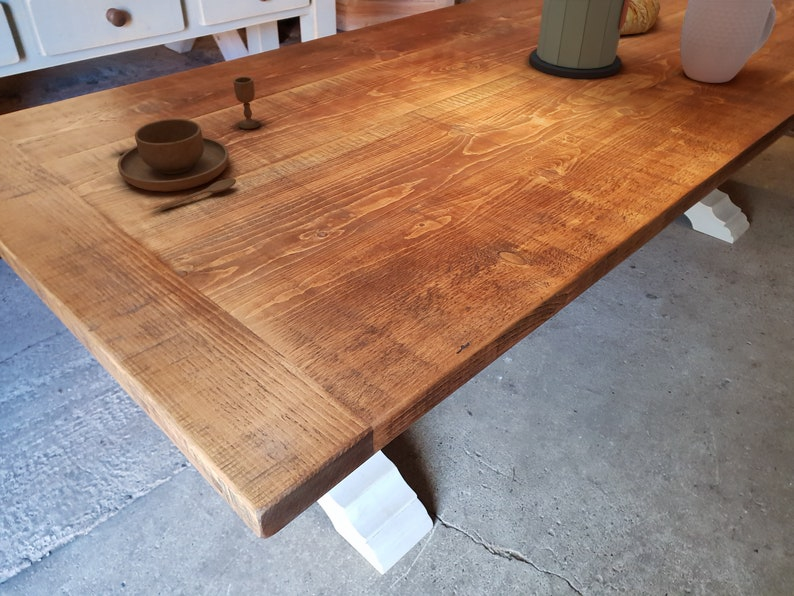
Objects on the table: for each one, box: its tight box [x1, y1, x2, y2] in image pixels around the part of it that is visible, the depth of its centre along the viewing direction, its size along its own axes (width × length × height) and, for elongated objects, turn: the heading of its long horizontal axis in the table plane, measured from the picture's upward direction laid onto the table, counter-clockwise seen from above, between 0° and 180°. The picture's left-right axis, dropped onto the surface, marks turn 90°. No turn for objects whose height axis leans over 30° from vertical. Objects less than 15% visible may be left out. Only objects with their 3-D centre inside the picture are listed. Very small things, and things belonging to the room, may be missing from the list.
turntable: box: [528, 48, 623, 80], centre depth 104 cm, size 14×14×1 cm
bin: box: [536, 0, 630, 69], centre depth 99 cm, size 12×12×17 cm
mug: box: [679, 0, 777, 84], centre depth 96 cm, size 15×11×13 cm
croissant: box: [620, 0, 661, 36], centre depth 120 cm, size 21×10×8 cm, turn 138°
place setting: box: [117, 76, 261, 210], centre depth 74 cm, size 18×20×6 cm
